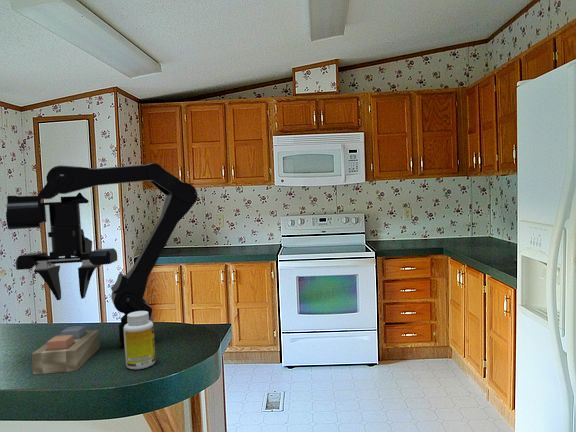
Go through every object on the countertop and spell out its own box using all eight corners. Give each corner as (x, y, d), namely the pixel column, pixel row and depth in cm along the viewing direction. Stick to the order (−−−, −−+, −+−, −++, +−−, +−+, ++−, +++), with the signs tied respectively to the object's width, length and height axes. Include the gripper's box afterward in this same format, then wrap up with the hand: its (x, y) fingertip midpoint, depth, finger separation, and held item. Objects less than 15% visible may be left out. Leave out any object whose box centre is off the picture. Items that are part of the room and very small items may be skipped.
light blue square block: (86, 338, 94) (85, 325, 94) (79, 343, 91) (78, 330, 91) (69, 339, 94) (68, 326, 94) (61, 345, 90) (61, 331, 90)
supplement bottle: (159, 365, 84) (156, 313, 83) (129, 373, 81) (125, 319, 80) (151, 357, 89) (148, 308, 88) (123, 364, 86) (119, 313, 85)
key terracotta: (74, 348, 88) (73, 334, 88) (67, 354, 84) (65, 340, 84) (56, 349, 88) (54, 336, 87) (47, 356, 84) (46, 342, 84)
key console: (99, 347, 96) (98, 329, 96) (76, 370, 83) (75, 350, 83) (62, 350, 95) (61, 332, 95) (33, 374, 82) (31, 353, 82)
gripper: (122, 221, 100) (126, 288, 101) (38, 225, 98) (43, 293, 99) (106, 224, 89) (111, 299, 90) (11, 229, 87) (17, 305, 88)
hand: (71, 299), depth 92 cm, fingers open, 5 cm apart
